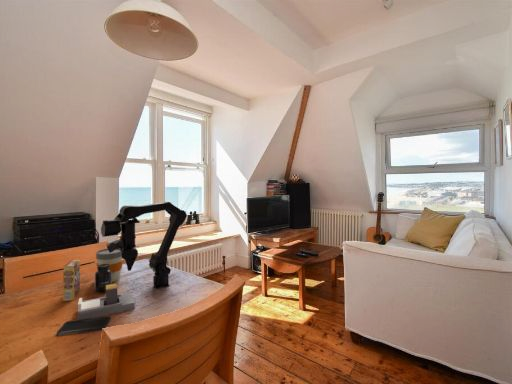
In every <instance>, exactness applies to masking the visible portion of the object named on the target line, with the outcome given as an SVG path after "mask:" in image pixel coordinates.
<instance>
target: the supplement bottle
mask: <svg viewBox="0 0 512 384" xmlns="http://www.w3.org/2000/svg"><path fill="white" fill-rule="evenodd" d="M96 268H97V269H96V271H95V273H94V292H95V293H98V294H101V293H106V285H110V284H112V283H113V282H112V272H111V270H109V264H100V265H98V266H97V265H96Z"/></svg>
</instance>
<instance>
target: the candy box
mask: <svg viewBox="0 0 512 384" xmlns="http://www.w3.org/2000/svg"><path fill="white" fill-rule="evenodd" d="M62 278H63V279H62V281H63V282H62V301H63V302H67V301H74V300H75V298H76V297H77V296H78V294H79V293H80V292H81V289H80V288H81V287H80V286H81V260H80V259H74V260H69V261H68V262H66V264H65V265H63V276H62Z"/></svg>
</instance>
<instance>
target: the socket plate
mask: <svg viewBox="0 0 512 384" xmlns="http://www.w3.org/2000/svg"><path fill="white" fill-rule="evenodd" d="M96 299H100V307H96V308H91V309H86V310H82V311H78V310H77V320H82V319H91V318H100V317H105V316H107V315H112V314H117V313H121V312H126V311H130V310H134V309H135V306H136V305H135V299H134V295H133V292H128V293H123V294H121V293H117V303H116V304H111V305H106V296H104V297H103V296H102V297H101V296H100V297H97V298H92V299H87V300H86V299H85V300H82V302H86V301H91V300H96ZM135 310H136V309H135Z"/></svg>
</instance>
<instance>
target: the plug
mask: <svg viewBox="0 0 512 384" xmlns="http://www.w3.org/2000/svg"><path fill="white" fill-rule="evenodd" d="M117 294H118V283H111V284H110V285H106V292H105V297H106V305H111V304H116V303H117Z"/></svg>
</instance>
